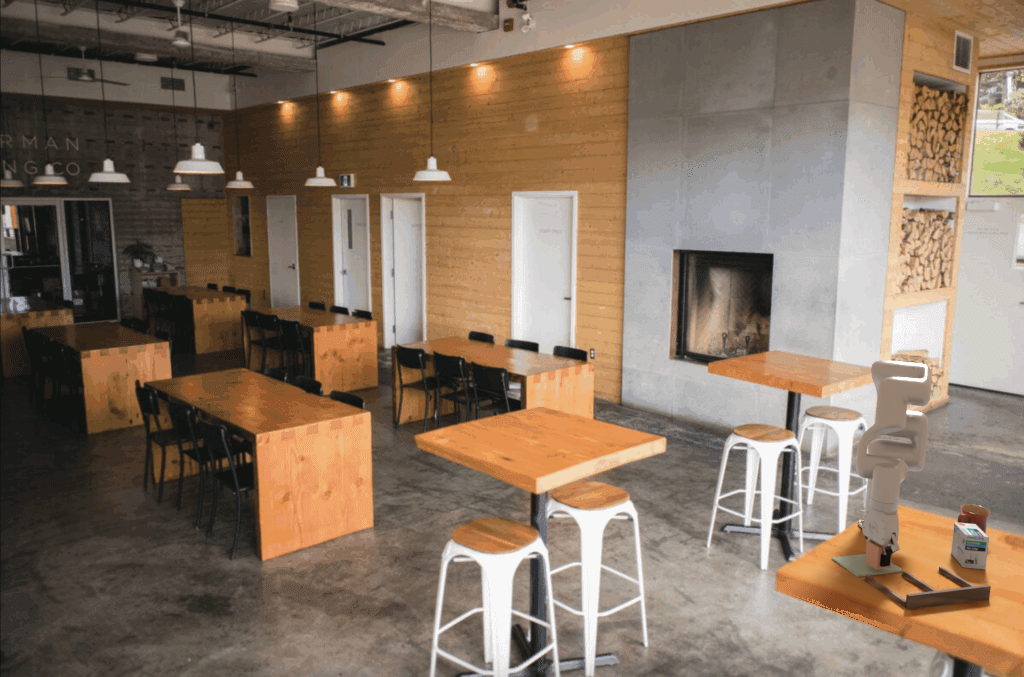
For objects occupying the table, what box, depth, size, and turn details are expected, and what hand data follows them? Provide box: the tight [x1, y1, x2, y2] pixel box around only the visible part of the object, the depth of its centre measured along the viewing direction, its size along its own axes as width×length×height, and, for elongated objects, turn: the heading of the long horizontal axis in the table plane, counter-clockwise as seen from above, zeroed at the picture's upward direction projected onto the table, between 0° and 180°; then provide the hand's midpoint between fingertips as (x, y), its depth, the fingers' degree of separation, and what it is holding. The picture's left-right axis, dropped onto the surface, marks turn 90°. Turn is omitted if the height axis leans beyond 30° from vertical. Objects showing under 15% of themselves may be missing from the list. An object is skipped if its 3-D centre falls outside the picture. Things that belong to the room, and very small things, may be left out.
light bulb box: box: [950, 521, 990, 570], centre depth 237 cm, size 11×7×11 cm, turn 168°
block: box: [865, 540, 893, 570], centre depth 229 cm, size 5×5×7 cm
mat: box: [831, 553, 904, 578], centre depth 234 cm, size 12×16×1 cm
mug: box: [956, 504, 992, 535], centre depth 254 cm, size 12×9×10 cm
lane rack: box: [864, 566, 992, 611], centre depth 219 cm, size 18×27×4 cm, turn 103°
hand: (878, 561), depth 229 cm, fingers closed on block, 5 cm apart
